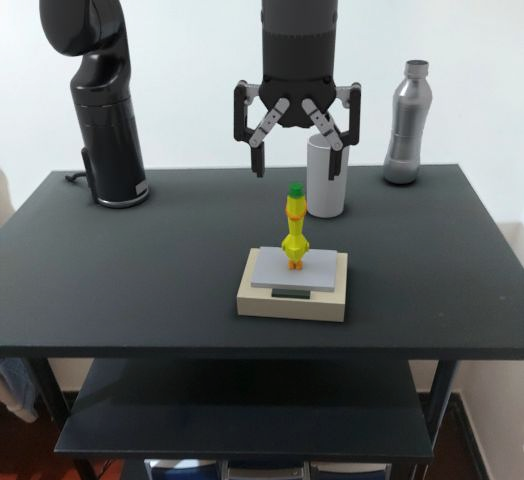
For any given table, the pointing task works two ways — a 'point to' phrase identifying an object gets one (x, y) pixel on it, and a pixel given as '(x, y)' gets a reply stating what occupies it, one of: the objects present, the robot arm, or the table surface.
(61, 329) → the table surface
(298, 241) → the toy figure
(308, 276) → the scale
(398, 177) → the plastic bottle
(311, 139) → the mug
